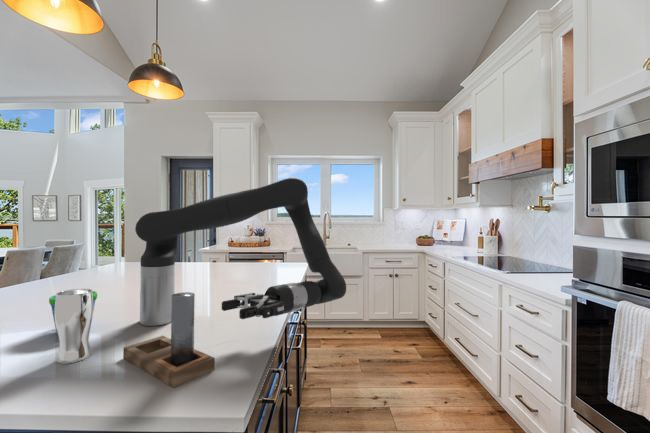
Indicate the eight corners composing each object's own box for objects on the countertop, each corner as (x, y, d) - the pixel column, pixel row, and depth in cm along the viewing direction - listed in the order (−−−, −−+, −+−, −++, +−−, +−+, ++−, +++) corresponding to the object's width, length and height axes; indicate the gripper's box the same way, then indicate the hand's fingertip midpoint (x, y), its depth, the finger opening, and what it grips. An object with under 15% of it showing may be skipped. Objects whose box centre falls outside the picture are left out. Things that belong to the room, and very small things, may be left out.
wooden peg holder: (123, 358, 74) (123, 346, 74) (162, 345, 81) (162, 334, 81) (173, 387, 61) (173, 373, 61) (214, 369, 69) (214, 356, 69)
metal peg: (166, 372, 67) (167, 295, 67) (186, 364, 71) (186, 291, 71) (178, 378, 65) (179, 298, 65) (198, 370, 68) (198, 294, 68)
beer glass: (68, 351, 77) (69, 288, 77) (99, 351, 77) (100, 288, 77) (45, 365, 70) (46, 295, 70) (80, 364, 70) (80, 295, 70)
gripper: (271, 280, 92) (216, 288, 81) (304, 288, 82) (247, 300, 70) (270, 306, 92) (216, 319, 81) (303, 318, 82) (246, 334, 71)
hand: (230, 310), depth 76 cm, fingers open, 8 cm apart
